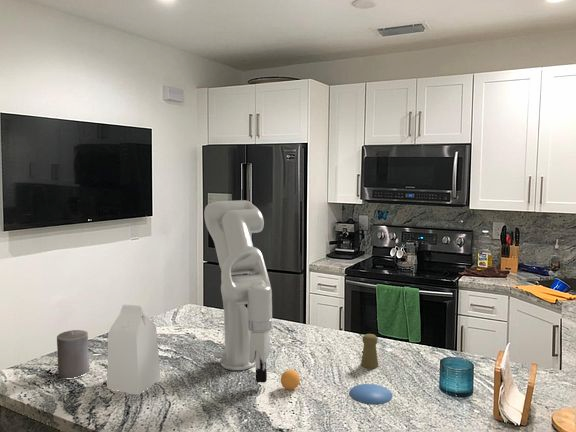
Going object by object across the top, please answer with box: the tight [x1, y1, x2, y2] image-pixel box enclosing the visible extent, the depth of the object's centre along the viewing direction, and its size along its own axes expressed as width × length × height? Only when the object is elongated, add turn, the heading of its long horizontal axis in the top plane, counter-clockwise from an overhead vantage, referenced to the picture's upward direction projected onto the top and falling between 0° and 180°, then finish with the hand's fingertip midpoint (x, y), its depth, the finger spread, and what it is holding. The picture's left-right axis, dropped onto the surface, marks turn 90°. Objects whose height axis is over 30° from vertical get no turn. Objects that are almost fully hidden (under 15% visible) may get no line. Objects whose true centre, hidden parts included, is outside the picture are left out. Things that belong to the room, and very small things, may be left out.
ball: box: [280, 369, 301, 391], centre depth 155 cm, size 6×6×6 cm
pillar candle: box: [56, 329, 90, 379], centre depth 166 cm, size 10×10×15 cm
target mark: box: [349, 383, 393, 405], centre depth 151 cm, size 13×13×1 cm
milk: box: [106, 303, 162, 395], centre depth 157 cm, size 12×12×26 cm
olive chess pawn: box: [360, 333, 379, 370], centre depth 172 cm, size 6×6×11 cm
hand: (261, 381), depth 155 cm, fingers closed
